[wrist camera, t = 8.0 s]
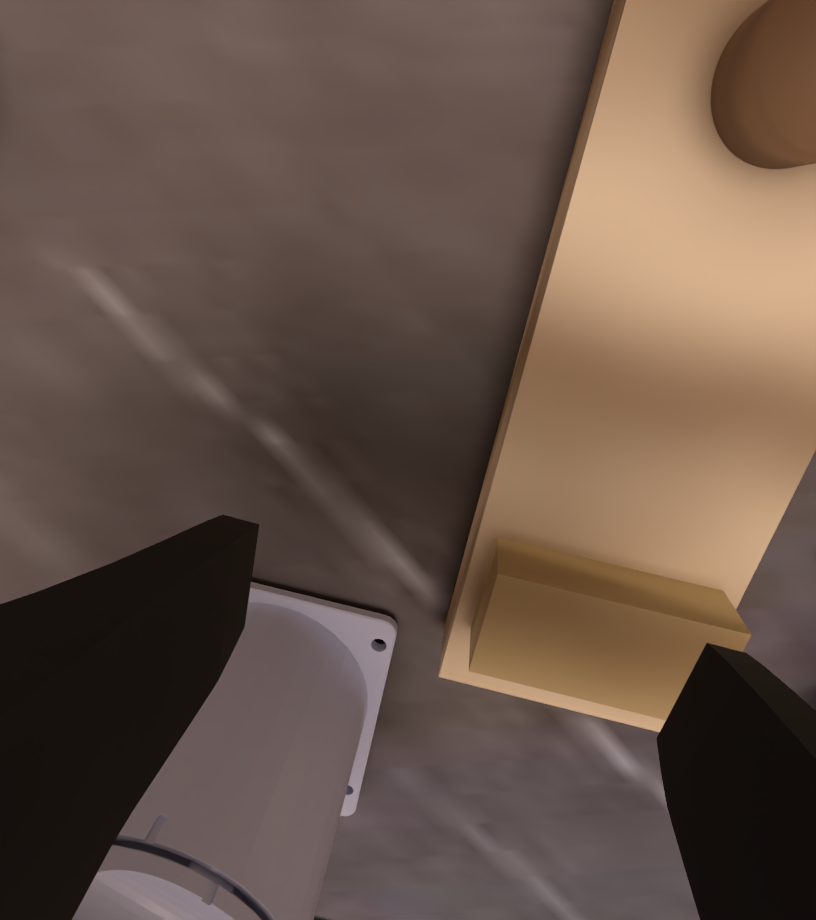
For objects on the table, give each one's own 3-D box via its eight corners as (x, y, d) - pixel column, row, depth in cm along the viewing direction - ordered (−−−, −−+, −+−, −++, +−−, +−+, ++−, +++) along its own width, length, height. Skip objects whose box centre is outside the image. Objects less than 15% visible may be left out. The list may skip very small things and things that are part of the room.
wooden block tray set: (651, 675, 20) (699, 809, 15) (444, 624, 20) (431, 741, 15) (944, 33, 13) (1194, -73, 8) (621, -28, 13) (689, -163, 9)
